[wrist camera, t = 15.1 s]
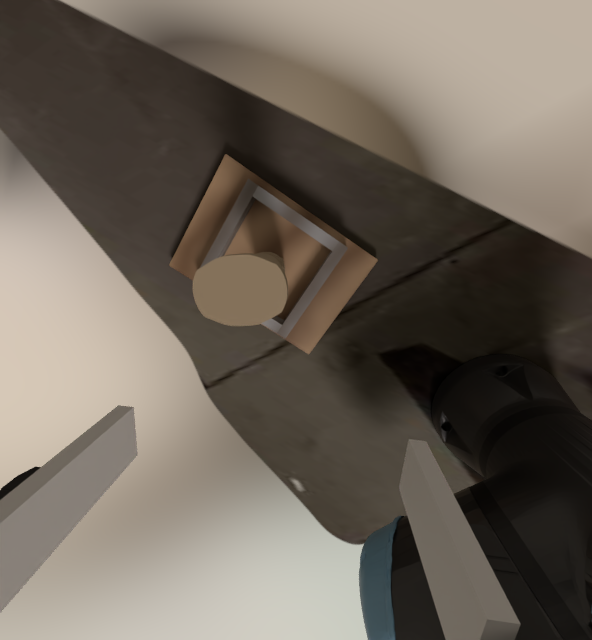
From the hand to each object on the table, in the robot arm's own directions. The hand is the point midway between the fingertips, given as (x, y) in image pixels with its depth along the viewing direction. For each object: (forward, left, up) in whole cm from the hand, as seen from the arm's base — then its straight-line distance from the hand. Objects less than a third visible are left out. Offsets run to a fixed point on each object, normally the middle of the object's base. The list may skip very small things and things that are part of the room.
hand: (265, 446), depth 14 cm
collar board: (+6, -4, -24) cm, 25 cm away
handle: (+6, -3, -23) cm, 24 cm away
